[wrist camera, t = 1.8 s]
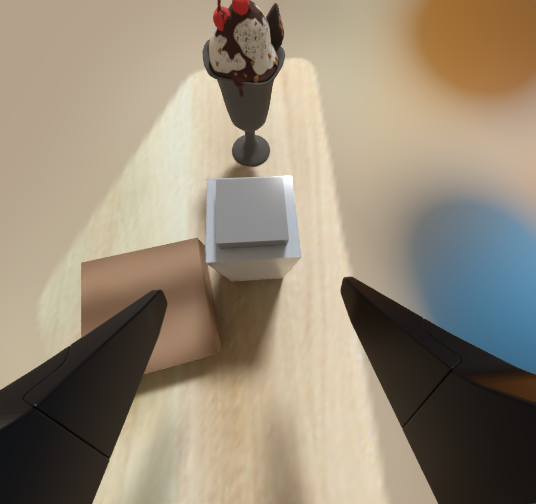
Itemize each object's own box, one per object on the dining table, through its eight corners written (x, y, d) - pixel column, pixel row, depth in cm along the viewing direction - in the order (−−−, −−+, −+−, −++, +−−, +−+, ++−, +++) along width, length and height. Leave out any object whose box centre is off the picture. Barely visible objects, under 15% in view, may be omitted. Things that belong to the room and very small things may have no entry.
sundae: (220, 167, 24) (158, -33, 10) (232, 126, 26) (196, -94, 12) (270, 176, 24) (283, -12, 10) (280, 135, 26) (302, -78, 11)
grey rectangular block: (283, 278, 21) (305, 252, 10) (231, 281, 21) (200, 258, 10) (279, 230, 22) (294, 165, 12) (231, 233, 22) (202, 168, 11)
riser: (222, 347, 19) (215, 354, 16) (109, 377, 18) (81, 391, 16) (205, 246, 22) (197, 237, 19) (106, 268, 21) (81, 262, 18)
